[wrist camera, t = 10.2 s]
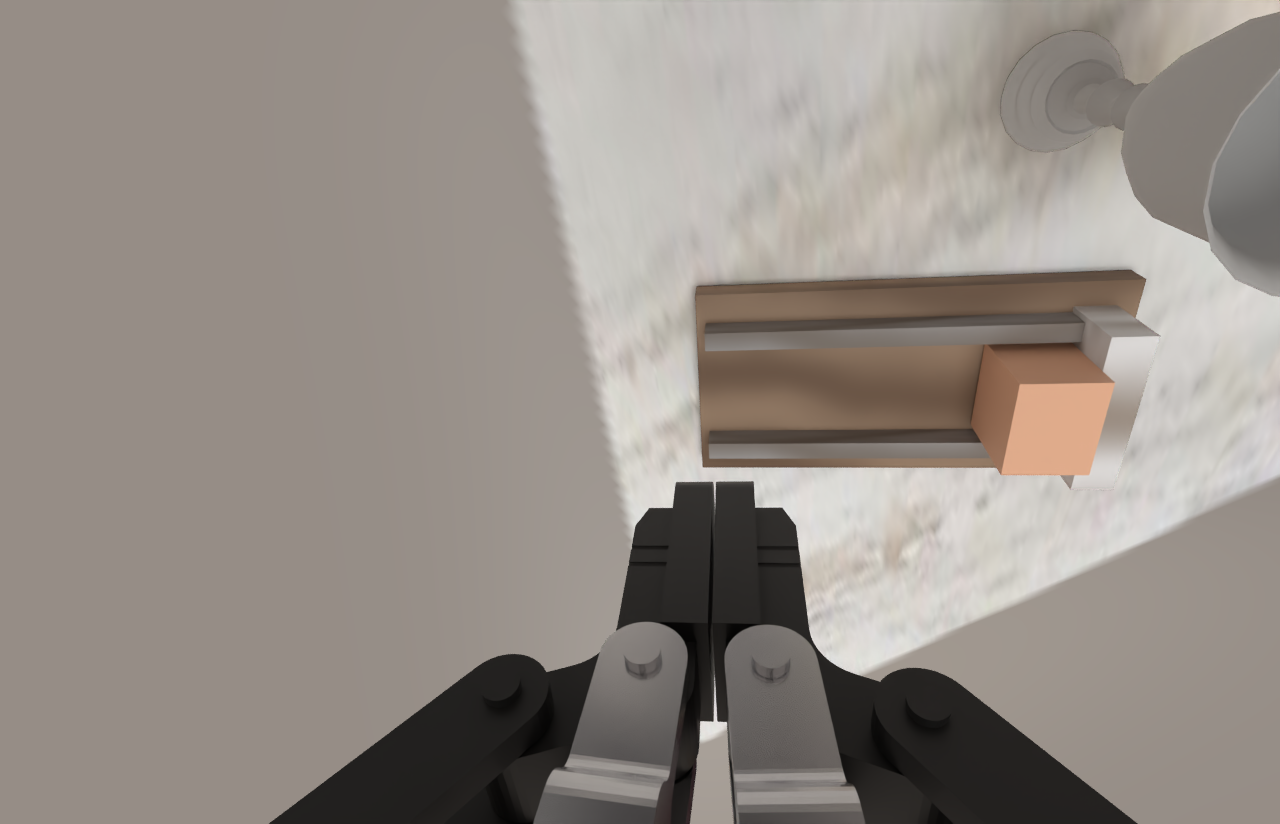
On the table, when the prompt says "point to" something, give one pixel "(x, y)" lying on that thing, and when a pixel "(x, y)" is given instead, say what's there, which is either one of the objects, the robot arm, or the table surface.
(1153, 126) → the chalice
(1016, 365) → the orange-brown block
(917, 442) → the rail board
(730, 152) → the table surface
